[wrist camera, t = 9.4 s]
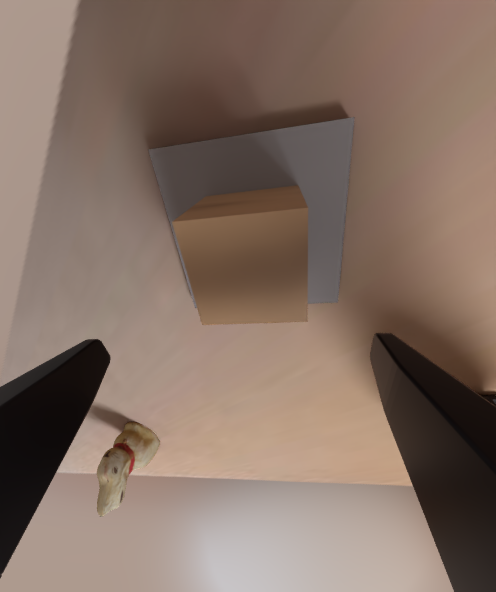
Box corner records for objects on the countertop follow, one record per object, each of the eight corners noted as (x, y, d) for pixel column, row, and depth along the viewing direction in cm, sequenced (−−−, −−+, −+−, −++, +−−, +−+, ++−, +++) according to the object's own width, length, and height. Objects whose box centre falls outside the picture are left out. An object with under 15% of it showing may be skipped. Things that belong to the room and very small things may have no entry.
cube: (299, 271, 18) (307, 321, 13) (222, 276, 19) (202, 324, 14) (298, 185, 15) (307, 207, 10) (205, 196, 16) (171, 221, 11)
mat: (335, 295, 20) (337, 302, 19) (198, 301, 22) (195, 308, 21) (349, 118, 14) (354, 117, 13) (155, 149, 16) (148, 149, 15)
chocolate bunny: (159, 424, 35) (121, 513, 26) (161, 449, 39) (128, 532, 31) (121, 416, 35) (72, 503, 26) (127, 442, 39) (86, 524, 31)
